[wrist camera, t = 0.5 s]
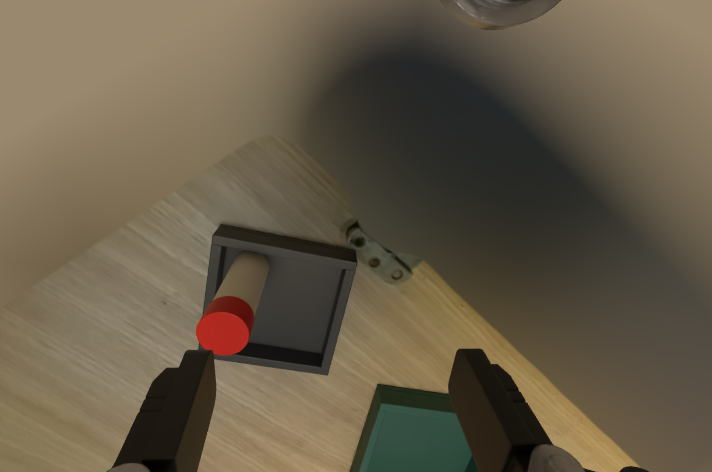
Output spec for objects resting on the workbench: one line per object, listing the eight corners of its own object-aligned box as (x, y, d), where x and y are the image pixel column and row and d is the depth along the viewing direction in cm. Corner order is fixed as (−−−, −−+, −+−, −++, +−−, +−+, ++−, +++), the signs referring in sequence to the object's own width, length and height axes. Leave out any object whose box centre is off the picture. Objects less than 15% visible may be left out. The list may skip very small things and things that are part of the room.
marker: (235, 245, 32) (198, 307, 23) (273, 252, 33) (252, 316, 24) (230, 278, 33) (193, 351, 24) (267, 285, 34) (245, 359, 25)
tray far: (377, 384, 39) (381, 403, 37) (499, 401, 41) (510, 420, 39) (345, 485, 44) (346, 508, 42) (456, 496, 46) (463, 518, 44)
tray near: (220, 224, 32) (212, 234, 30) (355, 250, 34) (357, 262, 32) (205, 338, 36) (197, 356, 34) (327, 357, 38) (327, 375, 35)
